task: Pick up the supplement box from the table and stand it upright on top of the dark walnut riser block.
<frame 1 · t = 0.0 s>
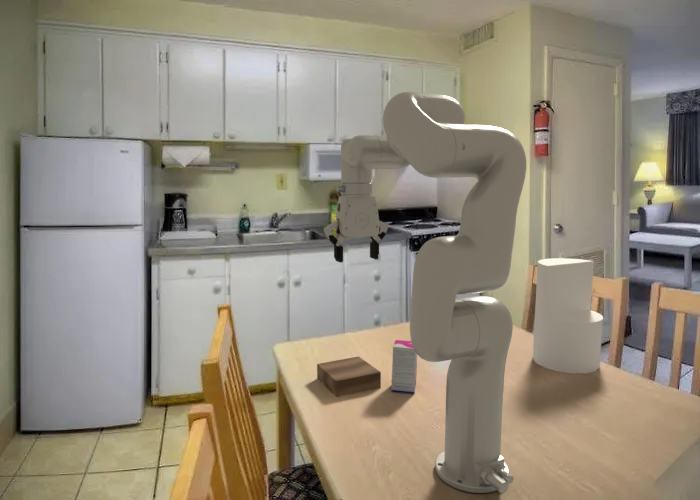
hand: (356, 260, 123), 31 cm above the table, fingers open, 9 cm apart
walnut riser block: (348, 383, 126), on the table
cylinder: (565, 362, 140), on the table
supplement box: (404, 389, 122), on the table
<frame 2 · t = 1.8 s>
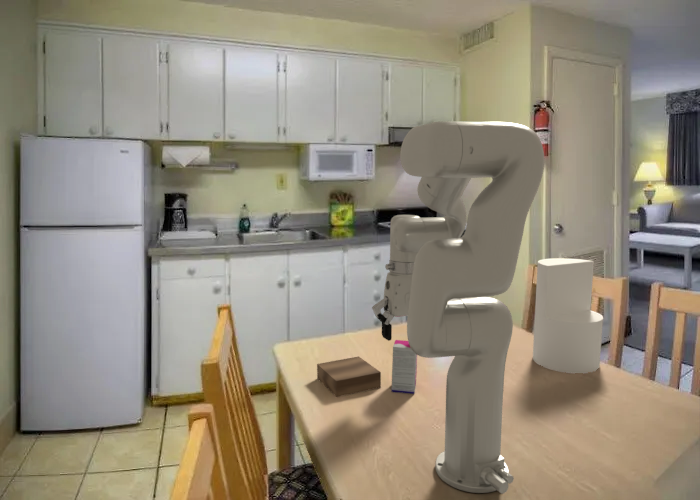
hand: (404, 335, 121), 13 cm above the table, fingers open, 9 cm apart
nothing on the table moved.
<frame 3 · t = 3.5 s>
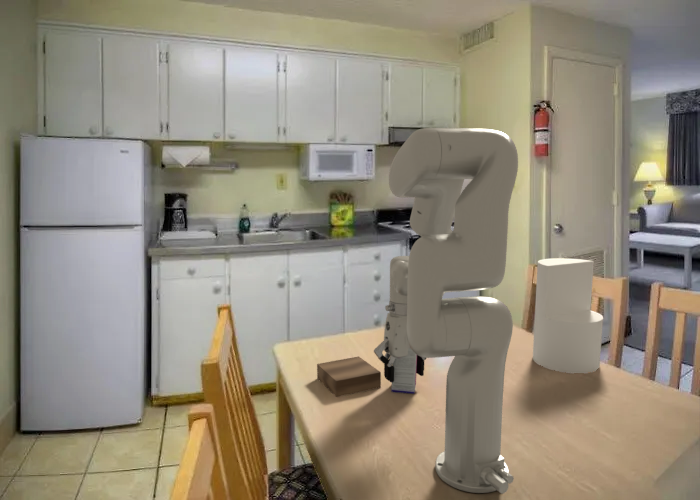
hand: (404, 376, 122), 3 cm above the table, fingers closed on supplement box, 7 cm apart
supplement box: (404, 389, 122), on the table, touching gripper
everything else where it was.
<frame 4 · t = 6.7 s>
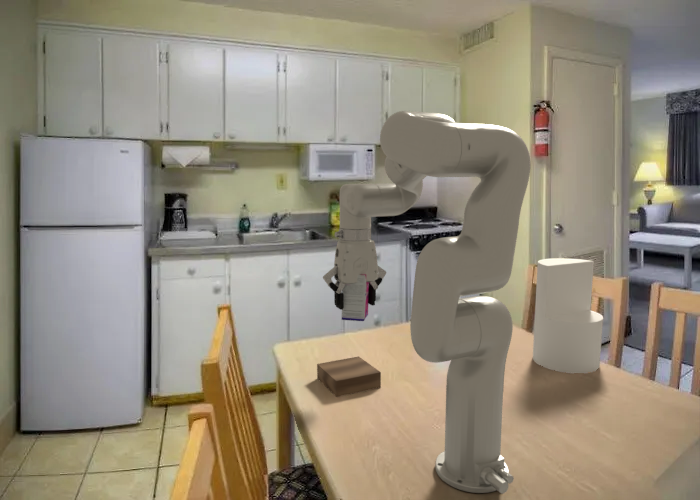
hand: (355, 305, 122), 20 cm above the table, fingers closed on supplement box, 7 cm apart
supplement box: (355, 318, 123), point 17 cm above the table, touching gripper
everything else where it was.
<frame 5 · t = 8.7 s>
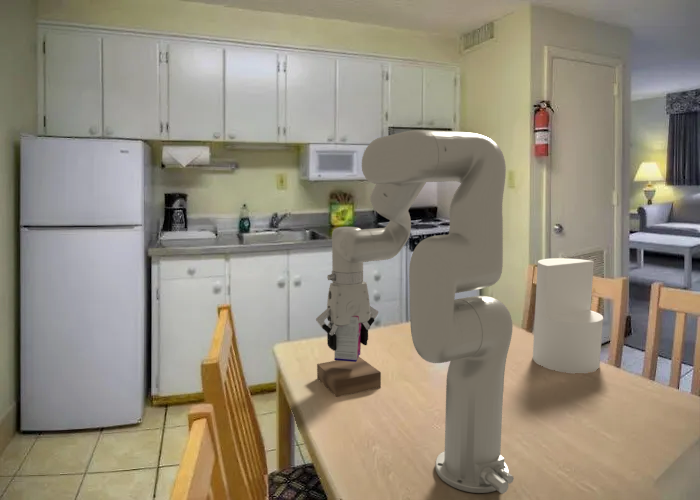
hand: (348, 345, 124), 10 cm above the table, fingers closed on supplement box, 7 cm apart
supplement box: (348, 358, 125), point 7 cm above the table, touching gripper
everything else where it was.
when the fingers open (8 cm above the table, at t = 10.1 s): supplement box drops 1 cm, resting on walnut riser block.
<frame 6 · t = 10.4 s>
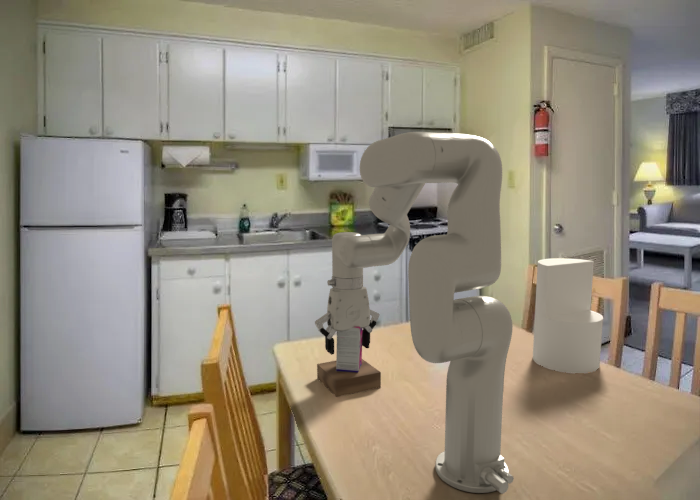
hand: (348, 349, 124), 9 cm above the table, fingers open, 9 cm apart
supplement box: (349, 368, 125), point 4 cm above the table, touching walnut riser block
everything else where it was.
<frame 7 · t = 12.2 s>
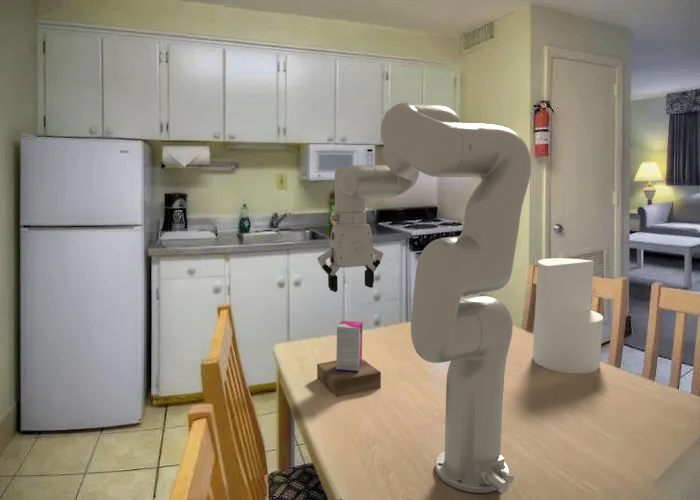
hand: (351, 288, 122), 25 cm above the table, fingers open, 9 cm apart
nothing on the table moved.
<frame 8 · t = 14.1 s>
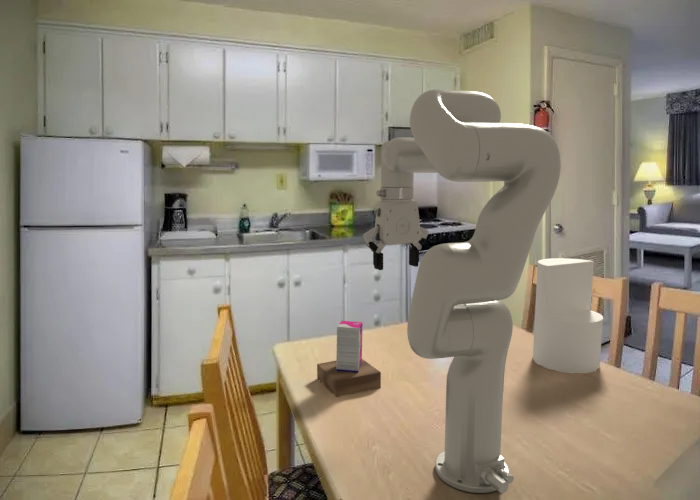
hand: (396, 267, 118), 30 cm above the table, fingers open, 9 cm apart
nothing on the table moved.
at the end: supplement box inside the target area on the walnut riser block (0.3 cm from its centre), point 3.8 cm above the walnut riser block's base; supplement box tilted 0°; the gripper is holding nothing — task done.
